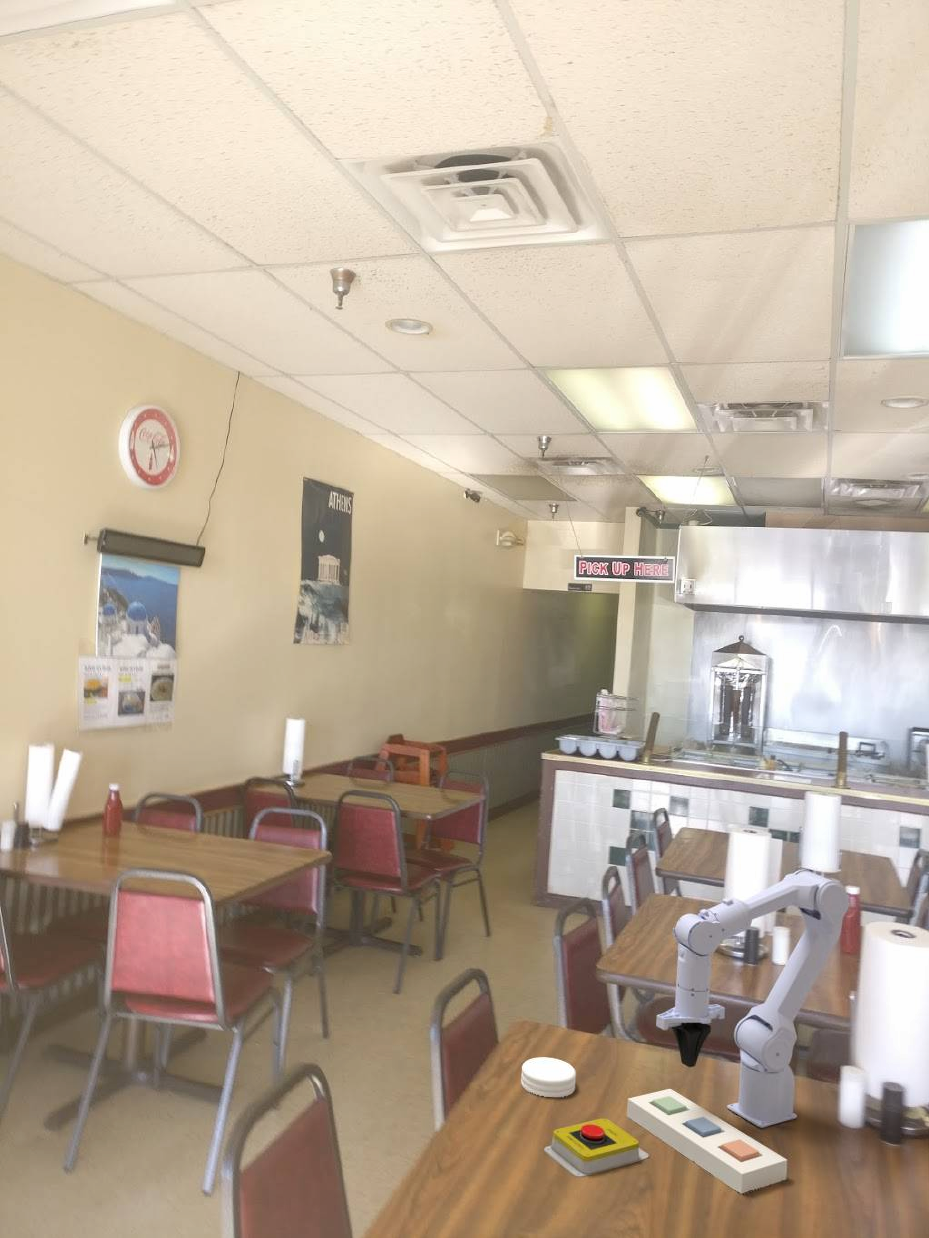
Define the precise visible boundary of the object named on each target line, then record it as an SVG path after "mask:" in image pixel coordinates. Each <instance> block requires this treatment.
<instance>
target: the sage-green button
mask: <svg viewBox="0 0 929 1238" xmlns="http://www.w3.org/2000/svg"><path fill="white" fill-rule="evenodd" d="M652 1105H653V1106H655V1107H656V1108H658V1109H659V1110H661V1111H662V1112H664V1113H666V1114H667V1115H672V1114H676V1113H680V1112H684V1111H686V1106H685V1105H683V1104H682V1103H680V1102H679V1101H677V1100H675V1099H674V1098H672V1097H670V1096H668V1097H664V1098H660V1099H656V1100H653V1103H652Z"/></svg>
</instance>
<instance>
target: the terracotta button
mask: <svg viewBox="0 0 929 1238" xmlns="http://www.w3.org/2000/svg"><path fill="white" fill-rule="evenodd" d="M722 1150H723V1151H724V1152H726V1153H728V1154H729V1155H731V1156H732V1157H734V1158H735V1159H737V1160H738V1161H740V1162H744V1161H747V1160H750V1159H754V1158H757V1157H759V1151H758V1150H756V1149H754V1148H753V1147H751V1146H750V1145H748V1144H746V1143H745V1142H743V1141H742V1140H740V1139H739V1140H735V1141H732V1142H728V1143H725V1144H722Z"/></svg>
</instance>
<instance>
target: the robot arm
mask: <svg viewBox="0 0 929 1238" xmlns="http://www.w3.org/2000/svg"><path fill="white" fill-rule="evenodd" d="M790 906H793V907H796V908H797V909H798V911H799V913H800V914H801V916H802V919H803V922H804V925H805V929H804V931H803V933H802V935H801V937H800V939H799V941H798V942H797V944H796V946H795V948H794V949H793V951H792V953H791V954H790V957H789V958H788V960H787V962H786V963H785V966H784V967H783V969H782V971H781V973H780V974H779V976H778V978H777V979H776V982H775V984H774V985H773V987H772V989H771V990H770V993H769V994H768V996H767V997H766V1000H765V1001H764V1003H762V1004H758V1005H756V1006H753V1007H751V1009H750V1011H749V1012H748V1013H747V1015H746V1016H745V1017H743V1018H742V1019H740V1020H739V1021H738V1022H737V1024H736V1026H735V1028H734V1033H733V1038H734V1039H733V1040H734V1043H735V1044H736V1046H737V1047H738V1048H739V1056H740V1064H739V1065H740V1067H739V1083H738V1084H739V1086H738V1100H737V1102H735V1103H731V1104H727V1109H728V1110H729V1111H732V1112H733V1113H735V1114H737V1115H738V1116H740V1117H742V1118H744V1119H745V1120H747V1121H749V1122H750V1123H751V1124H753V1125H755V1126H757V1127H758V1128H765V1127H769V1126H772V1125H777V1124H779V1123H780V1124H781V1123H784V1122H786V1121H790V1120H791V1121H792V1120H794V1119H796V1118H797V1117H798V1116H797V1114H796V1113H794V1098H795V1075H794V1072H793V1070H792V1068H791V1066H790V1065H789V1064H790V1062H791V1059H792V1057H793V1050H794V1047H795V1043H796V1041H797V1039H798V1036H797V1032H796V1031H797V1030H796V1029H795V1026H794V1020H795V1018H797V1015H798V1013H799V1012H800V1010H801V1008H802V1006H803V1005H804V1003H805V1001H806V998H807V997H808V995H809V993H810V991H811V990H812V989H813V986H814V984H815V982H816V980H817V978H818V977H819V975H820V974H821V971H822V969H823V968H824V966H825V964H826V962H827V960H828V958H829V957H830V955H831V953H832V951H833V950H834V948H835V946H836V944H837V942H838V940H839V938H840V936H841V933H842V926H843V919H844V917H845V915H846V913H847V911H848V910H849V907H850V906H851V903H850V899H849V895H848V893H847V889H846V887H844V885H843V884H842V883H841V882H839V881H836V880H834V879H833V880H831V879H830V878H827V877H824V876H822V875H819V874H816V873H815V872H812V871H810V870H808V869H805V868H804V869H798V870H797V871H795V872H793V873H789V874H786V875H785V876H784V878H783V879H782V880H781V881H779V882H777V883H775V884H774V885H772V886H770V887H768V888H766V889H764V890H762V891H760V892H758V893H756V894H754V895H752V896H750V897H749V898H746V899H744V900H743V901H742V900H740V899H738V898H736V897H735V898H730V897H728V896H727V897H725V898H723V899H722V902H721V903H719V904H716V905H715V906H712V907H710V908H708V909H706V908H703V909H700V910H699V913H698V914H694V913H687V914H684V915H682V916H681V917H680V918H679V919H678V921H676V924H675V927H673V928H672V934H673V938H674V939H675V941H676V942H677V967H676V968H677V969H676V980H675V982H676V983H675V984H676V985H675V986H676V987H675V1000H674V1007H672V1008H670V1009H668V1010H667V1011H665V1012H663V1013H660V1014H657V1015H656V1022H655V1023H656V1025H655V1026H656V1027H657V1028H659V1029H661V1030H663V1031H667V1030H669V1028H671V1029H672V1031H673V1033H674V1036H675V1039H676V1041H677V1046H678V1049H679V1055H680V1061H681V1064H683V1065H684V1066H686V1067H688V1068H694V1067H696V1065H697V1062H698V1058H699V1055H700V1052H701V1049H702V1047H703V1045H704V1043H705V1042H706V1039H707V1038H708V1037H709V1035H710V1034H711V1032H712V1026H711V1025H709V1024H711V1023H712V1020H714V1019H719V1020H725V1013H726V1012H725V1011H726V1008H725V1007H724V1006H723V1005H719V1004H718V1003H716V1004H710V992H711V991H710V990H711V989H710V987H711V986H710V985H711V970H712V954H714V952H716V950H717V949H718V948H719V945H720V944H721V943H722V942H723V941H725V940H727V939H730V938H732V937H733V936H737V935H738V934H741V933H743V932H745V931H748V930H750V928H751V926H752V922H753V920H755V919H757V918H760V917H763V916H766V915H768V914H771V913H774V912H776V911H779V910H782V909H785V908H788V907H790Z"/></svg>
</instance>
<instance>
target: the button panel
mask: <svg viewBox="0 0 929 1238" xmlns="http://www.w3.org/2000/svg"><path fill="white" fill-rule="evenodd" d="M668 1096H670V1097H672V1098H674V1099H675V1100H677V1101H679V1102H680V1103H682V1104H683V1105H685V1106H686V1111H684V1112H680V1113H676V1114H672V1115H667V1114H666V1113H664V1112H662V1111H661V1110H659V1109H658V1108H656V1107H655V1106H653V1105H652V1103H653V1100H656V1099H660V1098H664V1097H668ZM626 1117H627V1118H629V1119H630V1120H631V1121H633V1122H634V1123H636V1124H638V1125H639V1126H640V1127H642V1128H643V1129H644V1130H646V1131H647V1132H649V1133H651V1134H652V1135H653V1136H655V1137H656V1138H658V1139H660V1140H661V1141H662V1142H664V1143H665V1144H667V1145H668V1146H670V1147H671V1148H672V1149H674V1150H675V1151H677V1152H678V1153H680V1155H683V1156H684V1157H685V1158H687V1159H689V1160H690V1161H691V1162H693V1161H694V1162H695V1163H694V1162H693V1163H694V1164H696V1165H697V1166H699V1167H700V1168H702V1169H703V1170H705V1171H706V1172H707V1173H709V1174H710V1173H711V1174H710V1175H712V1176H713V1177H715V1178H716V1179H717V1180H719V1181H721V1182H722V1183H724V1184H725V1185H726V1186H728V1187H730V1188H731V1189H733V1191H735V1190H736V1191H735V1192H737V1191H738V1192H740V1193H741V1194H740V1193H739V1194H740V1195H743V1194H742V1193H744V1192H747V1191H749V1190H753V1191H755V1190H754V1189H756V1190H758V1188H759V1189H762V1188H765V1187H767V1186H770V1184H771V1185H774V1184H777V1183H780V1182H783V1181H785V1180H787V1172H788V1171H787V1170H788V1159H786V1158H785V1157H783V1156H782V1155H780V1154H779V1153H778V1152H775V1151H773V1150H772V1149H770V1148H769V1147H767V1146H765V1145H764V1144H762V1143H760V1142H759V1141H757V1140H755V1139H754V1138H753V1137H751V1136H749V1135H747V1134H745V1133H744V1132H742V1131H741V1130H739V1129H737V1128H736V1127H734V1126H732V1125H731V1124H729V1123H727V1122H725V1120H722V1119H721V1118H720V1117H718V1116H716V1115H715V1114H713V1113H711V1112H709V1111H708V1110H707V1109H705V1108H703V1107H701V1106H699V1105H698V1104H696V1103H695V1102H693V1101H691V1100H690V1099H689V1098H686V1096H683V1095H681V1094H680V1093H679V1092H676V1091H675V1090H673V1089H671V1088H667V1089H663V1090H659V1091H655V1092H654V1091H653V1092H651V1093H646V1094H643V1095H641V1094H640V1095H638V1096H633V1097H628V1098H627V1106H626ZM700 1117H704V1118H706V1119H708V1120H709V1121H711V1122H712V1123H714V1124H716V1125H717V1126H719V1127H721V1133H719V1134H715V1135H712V1136H708V1137H704V1138H703V1137H701V1136H700V1135H698V1134H697V1133H695V1132H693V1131H692V1130H690V1129H689V1128H687V1127H686V1126H685V1125H686V1121H689V1120H693V1119H697V1118H700ZM739 1139H740V1140H742V1141H743V1142H745V1143H746V1144H748V1145H750V1146H751V1147H753V1148H754V1149H756V1150H758V1151H759V1157H757V1158H754V1159H750V1160H747V1161H744V1162H740V1161H738V1160H737V1159H735V1158H734V1157H732V1156H731V1155H729V1154H728V1153H726V1152H724V1151H723V1150H722V1144H725V1143H728V1142H732V1141H735V1140H739ZM782 1180H783V1181H782ZM760 1187H761V1188H760ZM738 1192H737V1193H738ZM747 1193H748V1192H747ZM744 1194H745V1193H744Z"/></svg>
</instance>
